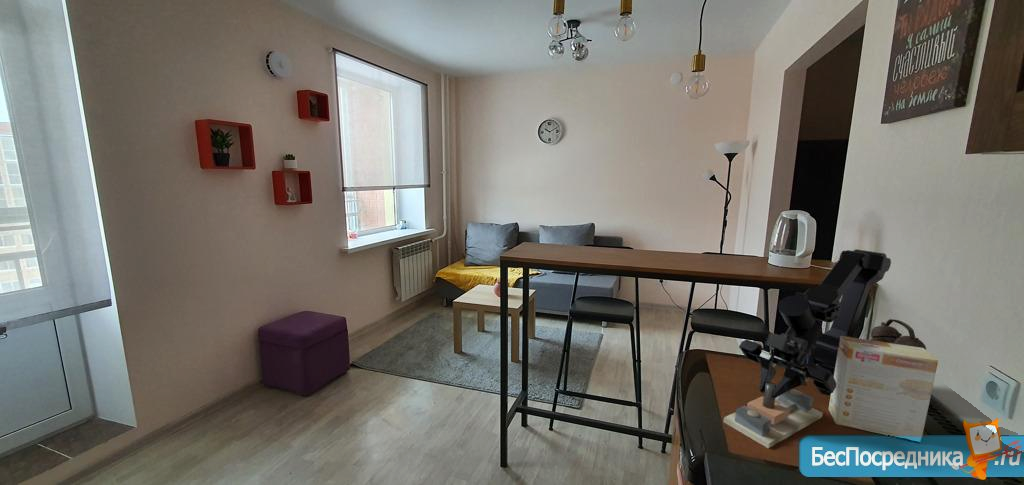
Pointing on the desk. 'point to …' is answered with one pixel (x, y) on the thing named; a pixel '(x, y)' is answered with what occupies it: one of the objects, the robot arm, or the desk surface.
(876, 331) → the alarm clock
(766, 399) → the carriage
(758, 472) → the desk surface
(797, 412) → the rail track
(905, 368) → the coffeecake box
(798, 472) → the desk surface
